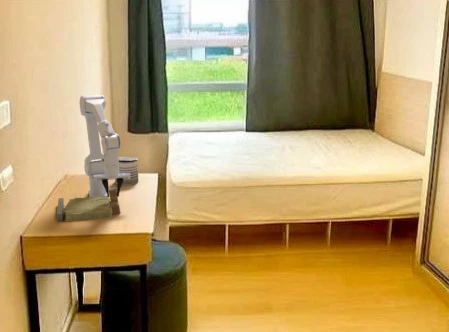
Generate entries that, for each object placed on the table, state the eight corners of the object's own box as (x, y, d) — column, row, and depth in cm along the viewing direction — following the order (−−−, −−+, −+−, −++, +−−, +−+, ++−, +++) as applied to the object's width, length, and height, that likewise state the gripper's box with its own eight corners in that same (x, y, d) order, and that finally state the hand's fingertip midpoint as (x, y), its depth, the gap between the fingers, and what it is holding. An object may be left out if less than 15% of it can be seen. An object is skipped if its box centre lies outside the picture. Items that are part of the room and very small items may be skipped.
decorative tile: (109, 202, 238) (109, 194, 238) (112, 218, 220) (112, 210, 219) (64, 206, 234) (64, 198, 233) (63, 222, 215) (63, 213, 214)
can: (109, 182, 266) (108, 158, 263) (126, 177, 275) (125, 153, 272) (128, 186, 260) (127, 161, 257) (143, 180, 269) (143, 156, 266)
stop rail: (59, 205, 233) (58, 198, 232) (63, 204, 233) (63, 198, 233) (57, 221, 214) (56, 214, 213) (62, 221, 215) (62, 213, 214)
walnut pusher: (110, 201, 238) (107, 184, 236) (117, 200, 239) (114, 182, 236) (112, 214, 223) (109, 195, 221) (120, 212, 224) (117, 193, 221)
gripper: (93, 167, 221) (95, 200, 224) (130, 165, 224) (131, 197, 227) (93, 163, 227) (94, 195, 231) (129, 161, 231) (130, 192, 234)
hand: (113, 196), depth 230 cm, fingers closed on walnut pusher, 3 cm apart
